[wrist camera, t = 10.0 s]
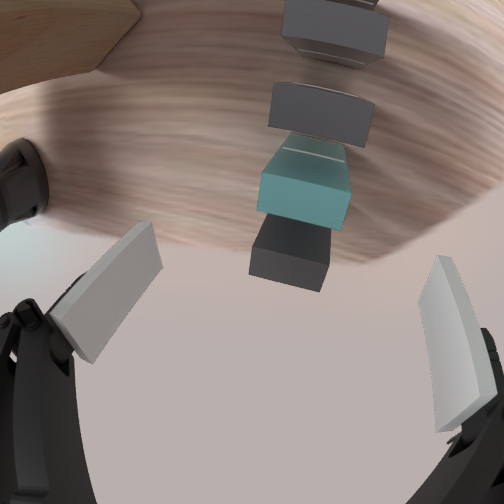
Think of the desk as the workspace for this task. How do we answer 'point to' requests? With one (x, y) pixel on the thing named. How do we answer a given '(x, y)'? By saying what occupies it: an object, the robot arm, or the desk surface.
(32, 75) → the block
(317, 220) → the domino
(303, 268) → the domino
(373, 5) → the domino
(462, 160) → the desk surface
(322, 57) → the domino
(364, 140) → the domino
